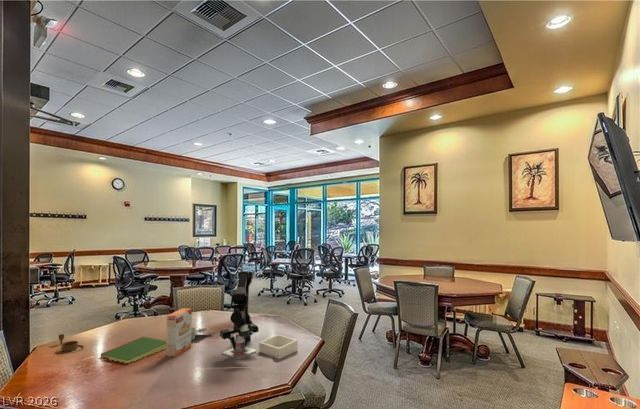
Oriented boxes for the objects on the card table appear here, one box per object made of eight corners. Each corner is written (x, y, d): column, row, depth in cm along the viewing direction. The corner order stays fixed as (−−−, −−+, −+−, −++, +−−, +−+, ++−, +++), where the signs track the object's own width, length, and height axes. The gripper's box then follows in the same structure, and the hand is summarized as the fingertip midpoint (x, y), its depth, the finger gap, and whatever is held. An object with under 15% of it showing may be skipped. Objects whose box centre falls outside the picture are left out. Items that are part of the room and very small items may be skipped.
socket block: (222, 355, 172) (222, 352, 172) (240, 348, 182) (240, 344, 182) (238, 362, 165) (238, 358, 165) (256, 353, 175) (256, 350, 175)
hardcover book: (143, 343, 190) (143, 336, 190) (168, 348, 183) (168, 341, 183) (99, 361, 167) (99, 354, 167) (126, 368, 159) (126, 360, 160)
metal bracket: (204, 329, 194) (179, 327, 196) (203, 340, 192) (178, 338, 194) (215, 328, 207) (192, 326, 209) (213, 338, 206) (190, 337, 208)
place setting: (44, 360, 169) (44, 348, 169) (57, 345, 187) (57, 334, 187) (86, 354, 175) (86, 343, 175) (95, 340, 194) (95, 330, 194)
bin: (259, 353, 175) (259, 342, 175) (277, 344, 187) (277, 334, 187) (279, 360, 167) (279, 348, 167) (297, 350, 178) (297, 340, 178)
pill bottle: (235, 357, 170) (235, 337, 170) (232, 353, 175) (232, 333, 175) (246, 354, 173) (246, 335, 173) (243, 351, 177) (243, 332, 177)
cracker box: (176, 358, 170) (176, 316, 170) (165, 357, 171) (165, 315, 171) (192, 347, 183) (192, 308, 184) (182, 346, 184) (182, 307, 185)
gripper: (226, 325, 162) (226, 358, 162) (262, 318, 172) (262, 349, 172) (219, 318, 171) (219, 350, 171) (254, 312, 182) (254, 342, 181)
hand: (239, 347), depth 174 cm, fingers closed on pill bottle, 5 cm apart
